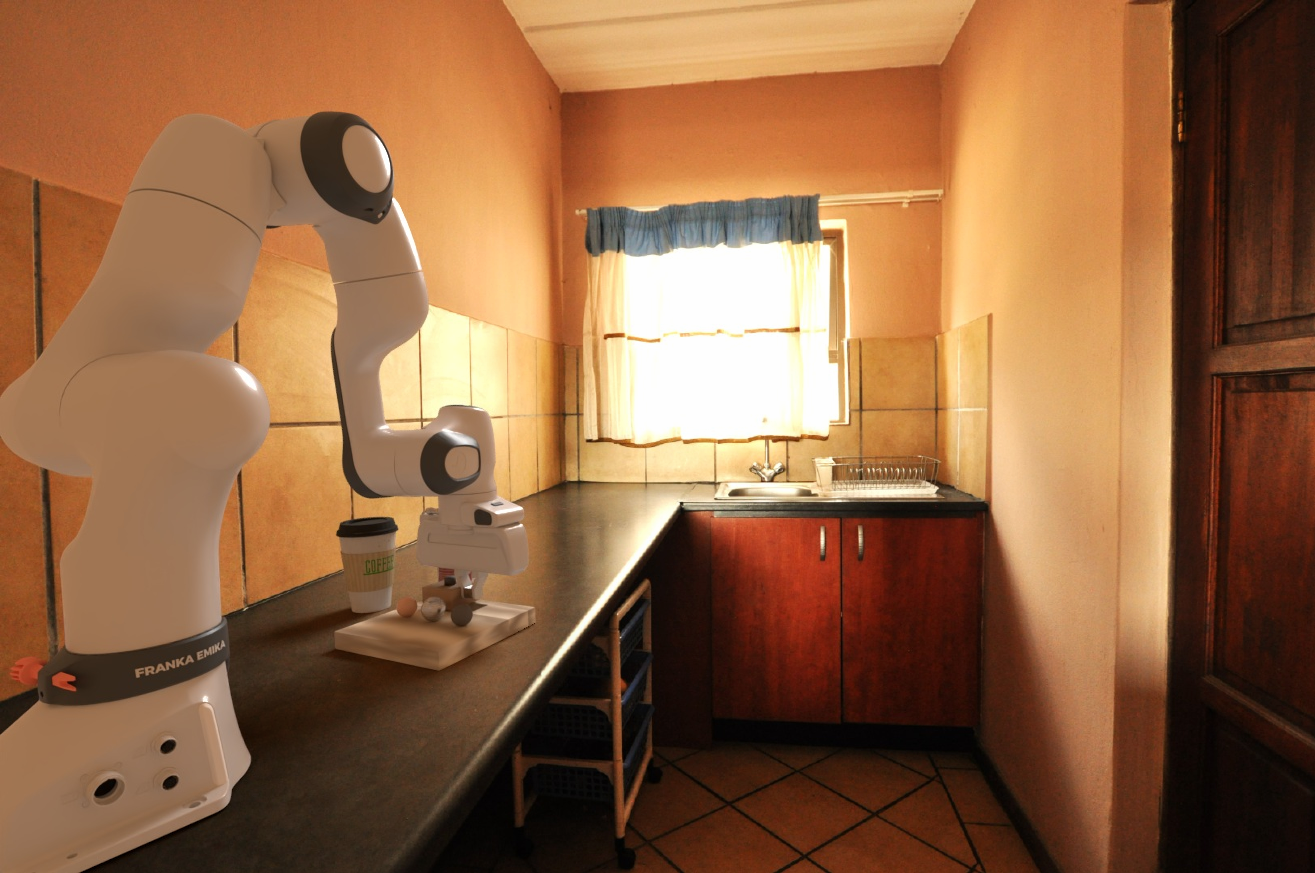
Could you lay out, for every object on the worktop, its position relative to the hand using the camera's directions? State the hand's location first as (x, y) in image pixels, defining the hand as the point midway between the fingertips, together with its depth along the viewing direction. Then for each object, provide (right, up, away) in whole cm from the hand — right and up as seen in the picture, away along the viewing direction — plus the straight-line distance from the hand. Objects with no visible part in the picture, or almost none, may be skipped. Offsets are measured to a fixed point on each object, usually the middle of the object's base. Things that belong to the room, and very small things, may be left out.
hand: (472, 597), depth 103 cm
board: (-4, -4, -5) cm, 7 cm away
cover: (-4, -1, +2) cm, 5 cm away
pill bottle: (-6, -4, +12) cm, 14 cm away
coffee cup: (-20, -4, +11) cm, 23 cm away
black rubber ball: (+1, 0, -8) cm, 8 cm away
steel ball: (-4, 0, -6) cm, 7 cm away
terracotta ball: (-9, -1, -3) cm, 10 cm away
